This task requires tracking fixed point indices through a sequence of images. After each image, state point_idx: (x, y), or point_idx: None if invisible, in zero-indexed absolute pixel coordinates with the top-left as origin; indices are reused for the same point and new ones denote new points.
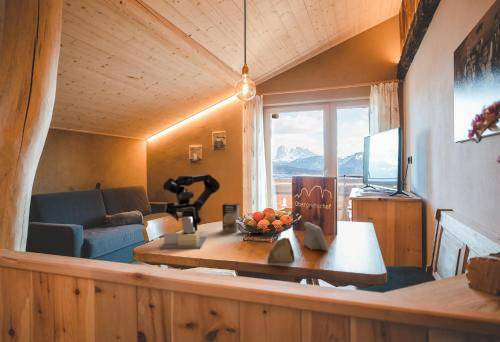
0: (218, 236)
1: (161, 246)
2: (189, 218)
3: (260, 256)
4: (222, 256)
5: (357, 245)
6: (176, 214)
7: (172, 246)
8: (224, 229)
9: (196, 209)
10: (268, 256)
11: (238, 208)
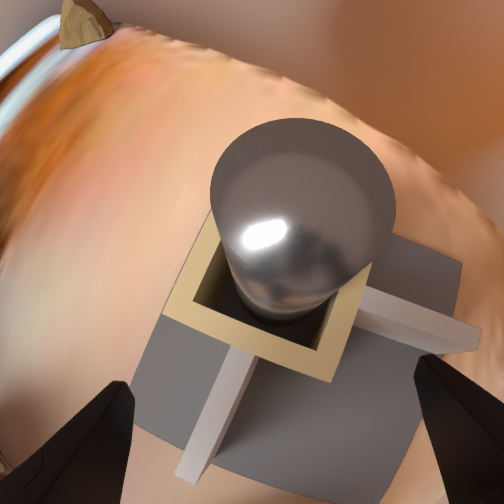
0: (53, 403)
1: (455, 274)
2: (276, 126)
3: (94, 61)
4: (183, 69)
5: None
6: (487, 414)
7: (395, 244)
8: (6, 474)
9: (16, 487)
10: (103, 29)
11: None
